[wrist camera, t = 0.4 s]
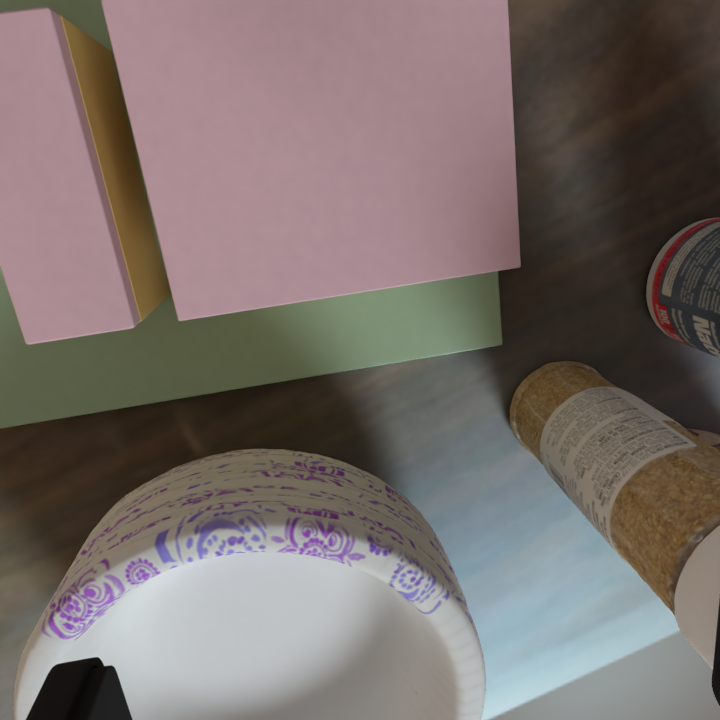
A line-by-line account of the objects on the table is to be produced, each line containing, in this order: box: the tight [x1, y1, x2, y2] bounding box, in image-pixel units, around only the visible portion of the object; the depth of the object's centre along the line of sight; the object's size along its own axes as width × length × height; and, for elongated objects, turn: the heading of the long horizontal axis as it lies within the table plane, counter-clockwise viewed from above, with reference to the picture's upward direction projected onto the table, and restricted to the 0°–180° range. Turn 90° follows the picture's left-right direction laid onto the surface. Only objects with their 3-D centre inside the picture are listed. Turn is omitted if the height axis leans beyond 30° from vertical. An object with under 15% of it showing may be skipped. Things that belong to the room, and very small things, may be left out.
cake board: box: [0, 0, 502, 429], centre depth 20 cm, size 16×20×1 cm
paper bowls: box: [13, 449, 486, 720], centre depth 22 cm, size 15×15×8 cm
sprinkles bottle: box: [510, 361, 720, 669], centre depth 19 cm, size 5×5×14 cm
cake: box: [101, 0, 521, 321], centre depth 18 cm, size 8×10×5 cm
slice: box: [0, 7, 170, 345], centre depth 17 cm, size 8×3×5 cm, turn 8°
